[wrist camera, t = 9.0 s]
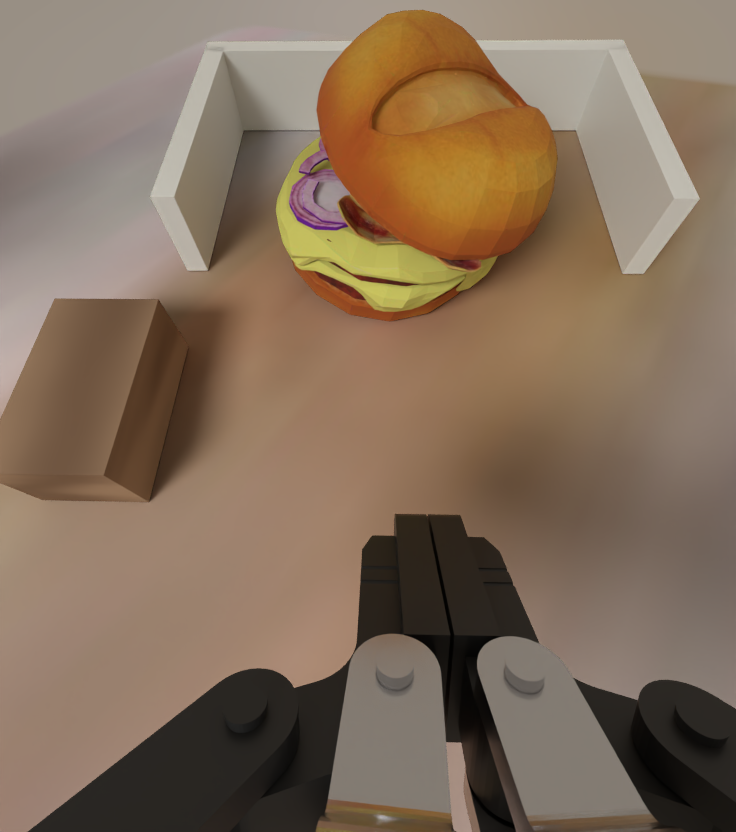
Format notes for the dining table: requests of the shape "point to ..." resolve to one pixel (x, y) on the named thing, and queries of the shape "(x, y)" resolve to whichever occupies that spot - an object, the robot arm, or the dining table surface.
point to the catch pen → (514, 61)
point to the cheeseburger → (413, 171)
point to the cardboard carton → (93, 402)
